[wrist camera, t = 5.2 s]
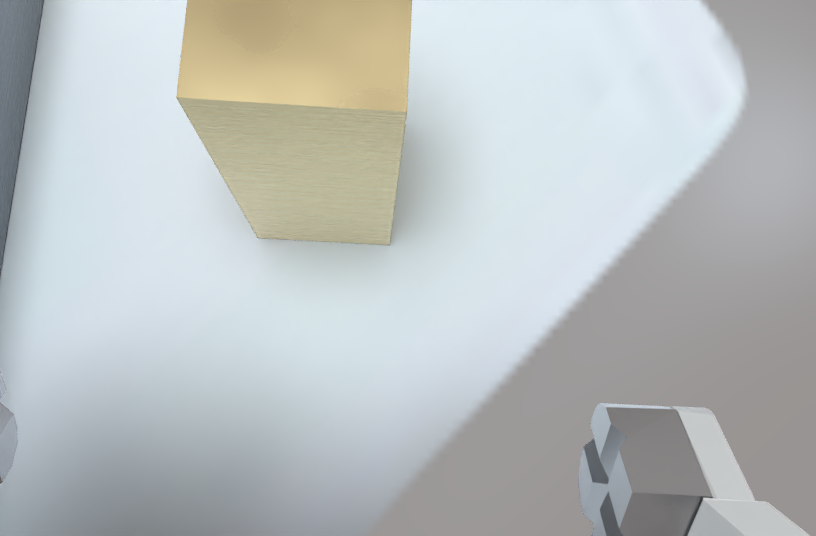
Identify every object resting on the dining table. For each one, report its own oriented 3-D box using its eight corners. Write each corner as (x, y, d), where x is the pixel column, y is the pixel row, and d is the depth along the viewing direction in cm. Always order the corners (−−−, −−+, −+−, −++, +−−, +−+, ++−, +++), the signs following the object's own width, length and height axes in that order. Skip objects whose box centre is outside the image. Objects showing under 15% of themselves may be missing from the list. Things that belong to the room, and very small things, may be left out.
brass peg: (389, 245, 23) (406, 111, 13) (257, 237, 23) (176, 97, 13) (395, 122, 24) (416, -89, 14) (268, 114, 24) (199, -106, 14)
